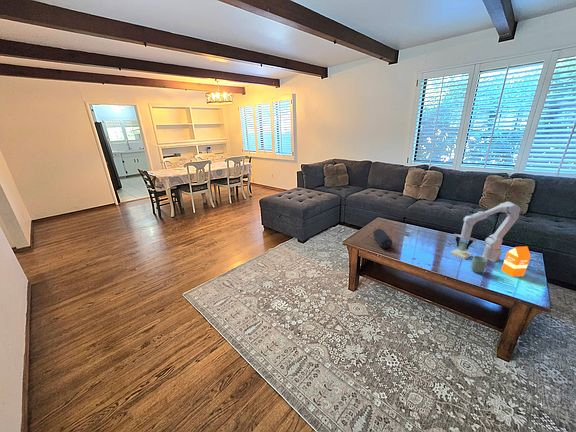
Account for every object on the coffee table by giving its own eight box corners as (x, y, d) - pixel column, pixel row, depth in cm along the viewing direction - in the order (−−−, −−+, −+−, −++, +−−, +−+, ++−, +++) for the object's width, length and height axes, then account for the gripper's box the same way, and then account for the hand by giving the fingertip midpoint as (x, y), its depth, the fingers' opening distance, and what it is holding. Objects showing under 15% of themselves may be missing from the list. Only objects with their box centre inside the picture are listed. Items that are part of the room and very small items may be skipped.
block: (466, 250, 182) (468, 243, 180) (461, 251, 182) (463, 244, 180) (461, 248, 186) (463, 241, 184) (457, 248, 186) (459, 241, 183)
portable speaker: (392, 249, 196) (394, 239, 193) (380, 250, 196) (382, 239, 193) (382, 237, 220) (383, 227, 216) (371, 237, 220) (372, 227, 217)
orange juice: (500, 270, 165) (509, 244, 158) (512, 269, 165) (521, 243, 158) (511, 276, 157) (521, 249, 151) (524, 275, 158) (533, 249, 151)
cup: (470, 267, 169) (473, 254, 166) (484, 270, 164) (487, 258, 161) (469, 271, 164) (473, 259, 160) (483, 275, 159) (487, 262, 155)
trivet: (470, 256, 184) (471, 253, 183) (463, 259, 179) (464, 256, 178) (457, 251, 192) (457, 248, 191) (450, 254, 188) (450, 251, 187)
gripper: (479, 232, 176) (475, 248, 181) (456, 227, 186) (452, 242, 191) (477, 235, 172) (473, 251, 176) (454, 230, 182) (450, 245, 186)
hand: (462, 247), depth 183 cm, fingers closed on block, 6 cm apart
